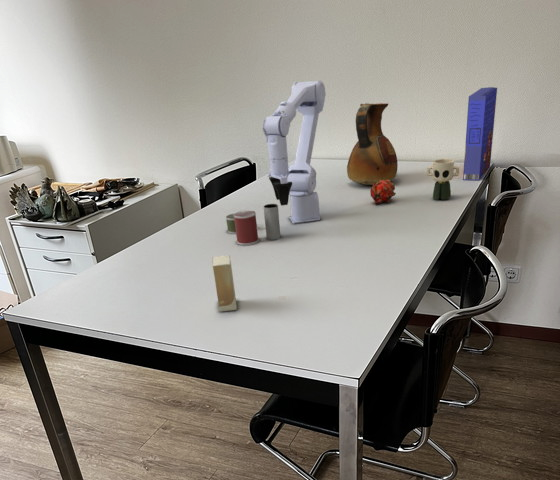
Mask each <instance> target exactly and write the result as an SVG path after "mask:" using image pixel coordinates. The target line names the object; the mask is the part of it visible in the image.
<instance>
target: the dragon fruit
mask: <svg viewBox="0 0 560 480" xmlns="http://www.w3.org/2000/svg"><path fill="white" fill-rule="evenodd" d="M371 186H372V187H371V189H370V191H369V193H370V197H371V198H372V200H373V201H374V204H375V205H380V204H382V203H384V202H385V203H389V202H390V201H392V200H391V199H392V198H393V197H395V196H396V192H394V191H395V190H396V187H395V184H394V182H392V181H391V180H386V181H384V180H383V179H380V182H375V183H374V185H371Z"/></svg>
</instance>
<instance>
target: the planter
mask: <svg viewBox="0 0 560 480" xmlns="http://www.w3.org/2000/svg"><path fill="white" fill-rule="evenodd" d="M279 214H280V213H279V205H278V203H277V204H276V203H269V204H265V205H263V215H264V225H265V235H266V236H265V237H266V239H267V240H270V241H276V240H279V239H280V238H281V236H282V235H281V226H280V215H279Z"/></svg>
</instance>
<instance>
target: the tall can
mask: <svg viewBox="0 0 560 480" xmlns="http://www.w3.org/2000/svg"><path fill="white" fill-rule="evenodd" d="M234 220H235V228H236V234H235V235H236V243H237V244H238V245H241V246H250V245H254V244H256V243H259V242H260V240H259V234H258V233H259V232H258V223H257V213H256V211H255V210H251V209H250V210H249V209H247V210H240V211H236V212H234Z"/></svg>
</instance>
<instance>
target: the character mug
mask: <svg viewBox="0 0 560 480" xmlns="http://www.w3.org/2000/svg"><path fill="white" fill-rule="evenodd" d="M426 169H427V170H426V175H427V176H428V177H432V180H433V181H435V182H434V186H433V192H432V199H435V200H440V199H441V200H448V199H451V197H452V196H451V195H452V191H451V183H450V181H452V180H453V178H454V177H459V175H460V166H458V165H455V160H454V159H451V158H438V159H434V160H433V161H432V165H428V166H427V167H426ZM431 170H432V172H431ZM454 170H455V172H454Z"/></svg>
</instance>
